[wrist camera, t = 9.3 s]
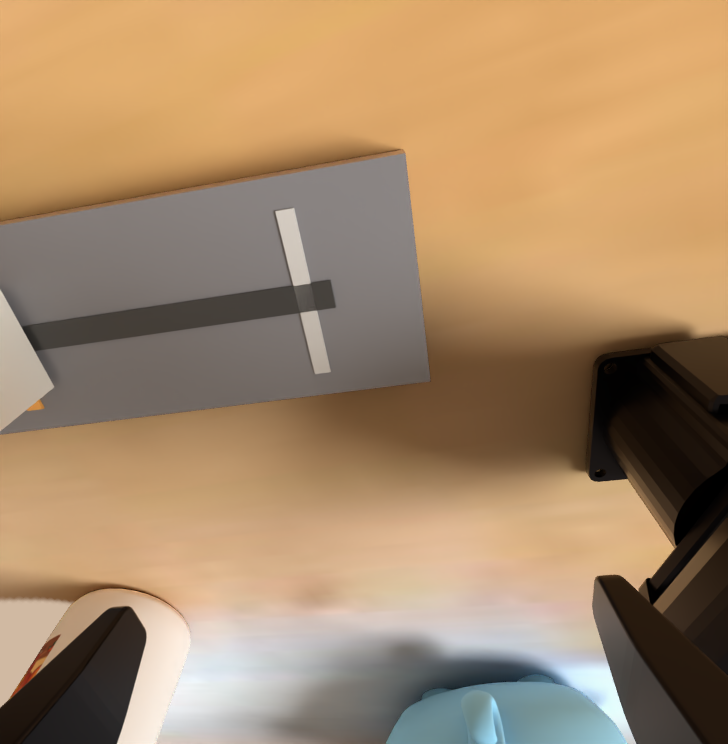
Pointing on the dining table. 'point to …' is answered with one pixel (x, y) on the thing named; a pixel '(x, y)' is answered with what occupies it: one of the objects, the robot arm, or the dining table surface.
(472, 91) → the dining table surface
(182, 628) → the milk bottle
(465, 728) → the decorative pot
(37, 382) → the fader cap
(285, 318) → the console
